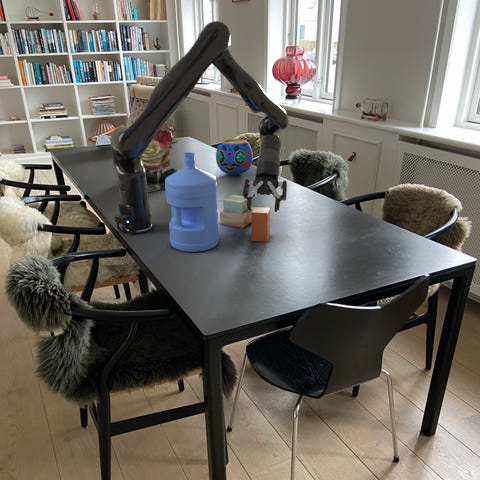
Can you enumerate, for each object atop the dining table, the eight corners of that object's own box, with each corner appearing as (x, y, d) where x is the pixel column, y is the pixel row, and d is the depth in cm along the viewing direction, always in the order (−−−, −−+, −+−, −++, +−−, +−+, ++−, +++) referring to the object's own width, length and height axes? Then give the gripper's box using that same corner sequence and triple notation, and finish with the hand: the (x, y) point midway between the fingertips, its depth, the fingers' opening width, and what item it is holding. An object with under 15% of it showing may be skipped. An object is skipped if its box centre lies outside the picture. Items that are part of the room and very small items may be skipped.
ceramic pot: (211, 177, 226) (210, 144, 218) (221, 168, 241) (220, 137, 233) (248, 179, 222) (248, 145, 215) (256, 170, 237) (256, 138, 229)
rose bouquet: (115, 181, 223) (105, 110, 208) (177, 174, 232) (172, 106, 216) (124, 196, 202) (114, 119, 187) (192, 188, 211) (187, 114, 196)
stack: (243, 227, 168) (242, 203, 164) (220, 224, 172) (219, 200, 167) (253, 219, 175) (254, 196, 171) (231, 216, 178) (231, 193, 174)
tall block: (267, 241, 157) (267, 213, 152) (251, 240, 158) (251, 212, 153) (269, 236, 161) (270, 208, 156) (254, 235, 162) (254, 207, 157)
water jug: (194, 231, 166) (188, 146, 151) (229, 241, 157) (226, 152, 143) (160, 245, 155) (150, 154, 141) (195, 257, 147) (189, 162, 132)
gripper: (245, 159, 159) (239, 203, 156) (289, 160, 157) (283, 205, 153) (248, 171, 167) (242, 214, 163) (290, 172, 164) (285, 216, 160)
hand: (262, 210), depth 158 cm, fingers open, 8 cm apart
